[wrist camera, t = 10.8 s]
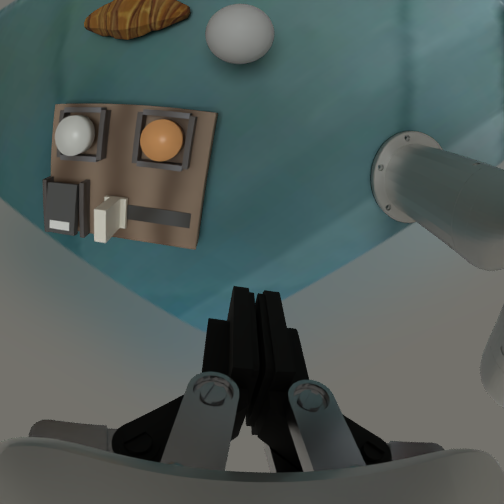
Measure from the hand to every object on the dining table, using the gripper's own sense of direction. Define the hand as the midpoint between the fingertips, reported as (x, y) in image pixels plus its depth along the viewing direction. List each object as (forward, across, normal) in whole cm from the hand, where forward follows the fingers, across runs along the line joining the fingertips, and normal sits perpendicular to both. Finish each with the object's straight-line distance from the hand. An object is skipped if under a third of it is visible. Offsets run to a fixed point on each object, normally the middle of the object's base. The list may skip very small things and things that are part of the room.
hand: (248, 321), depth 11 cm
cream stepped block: (+24, +14, +6) cm, 28 cm away
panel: (+27, +14, +1) cm, 30 cm away
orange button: (+24, +9, -4) cm, 25 cm away
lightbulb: (+27, +3, -15) cm, 31 cm away
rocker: (+22, +21, +6) cm, 31 cm away
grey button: (+22, +19, -4) cm, 29 cm away
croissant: (+27, +16, -18) cm, 37 cm away
